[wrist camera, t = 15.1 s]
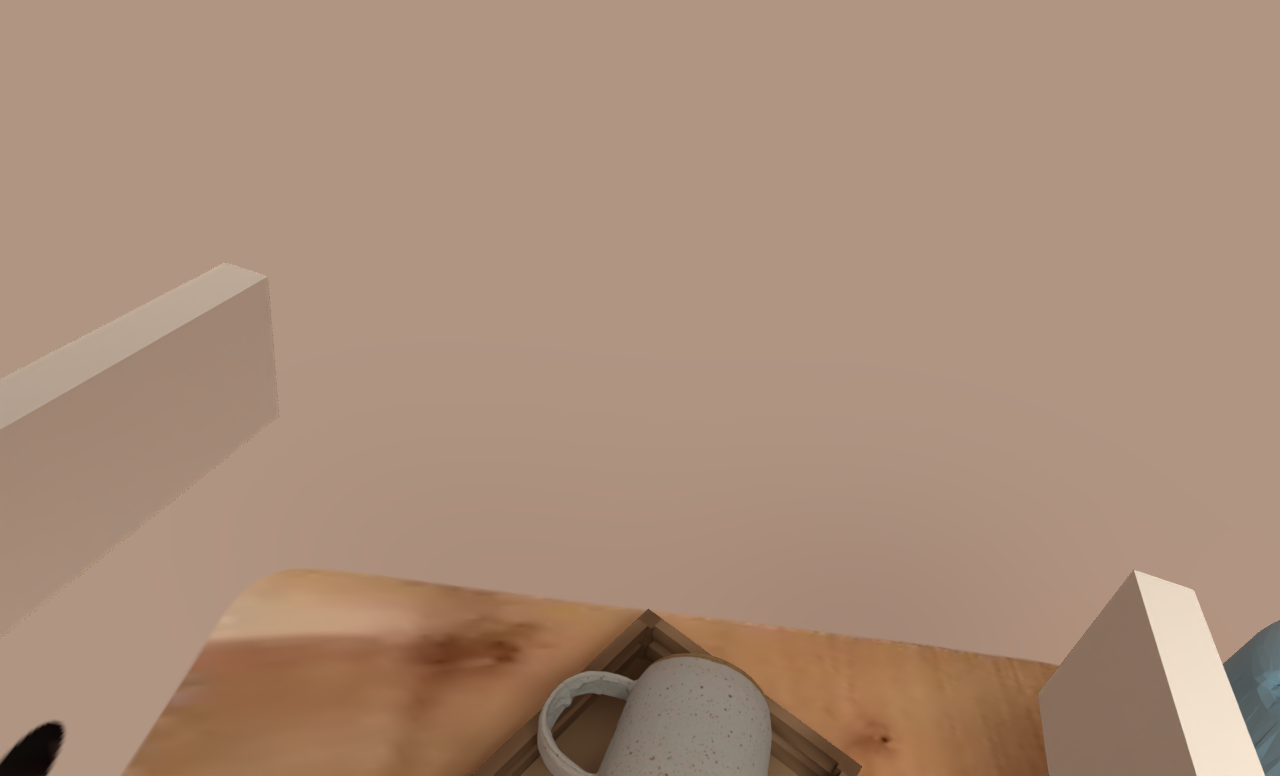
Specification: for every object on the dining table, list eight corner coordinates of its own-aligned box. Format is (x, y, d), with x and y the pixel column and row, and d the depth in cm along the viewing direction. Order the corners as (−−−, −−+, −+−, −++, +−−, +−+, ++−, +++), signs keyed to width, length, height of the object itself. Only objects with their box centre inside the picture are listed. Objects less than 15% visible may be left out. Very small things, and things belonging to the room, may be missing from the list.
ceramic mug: (722, 755, 44) (812, 696, 39) (690, 913, 37) (793, 863, 33) (561, 650, 43) (634, 577, 38) (498, 793, 36) (577, 725, 32)
